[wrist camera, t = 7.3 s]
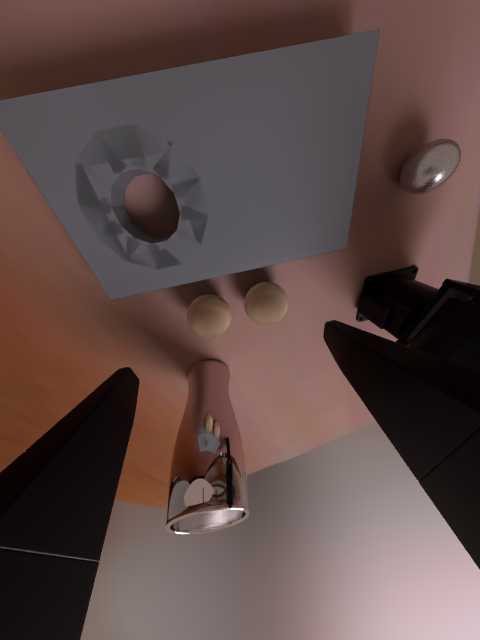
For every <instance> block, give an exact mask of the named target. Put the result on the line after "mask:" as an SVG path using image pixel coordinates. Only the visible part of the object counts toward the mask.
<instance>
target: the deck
mask: <svg viewBox="0 0 480 640" xmlns="http://www.w3.org/2000/svg"><path fill="white" fill-rule="evenodd" d="M379 30H380V29H378V30H373V31H368V32H362V33H357V34H352V35H346V36H341V37H336V38H330V39H325V40H320V41H314V42H309V43H304V44H298V45H293V46H288V47H282V48H277V49H271V50H266V51H261V52H255V53H250V54H245V55H239V56H234V57H229V58H223V59H218V60H213V61H207V62H202V63H197V64H191V65H186V66H181V67H175V68H170V69H165V70H159V71H154V72H148V73H143V74H138V75H132V76H127V77H122V78H116V79H111V80H106V81H100V82H95V83H90V84H84V85H79V86H74V87H68V88H63V89H58V90H52V91H47V92H41V93H36V94H31V95H25V96H20V97H15V98H9V99H4V100H0V128H1V130H2V131H3V133H4V134H5V136H6V138H7V139H8V141H9V142H10V144H11V145H12V147H13V148H14V150H15V152H16V153H17V155H18V156H19V158H20V159H21V161H22V163H23V164H24V166H25V167H26V169H27V170H28V172H29V173H30V175H31V177H32V178H33V180H34V181H35V183H36V184H37V186H38V188H39V189H40V191H41V192H42V194H43V195H44V197H45V198H46V200H47V202H48V203H49V205H50V206H51V208H52V209H53V211H54V213H55V214H56V216H57V217H58V219H59V220H60V222H61V223H62V225H63V227H64V228H65V230H66V231H67V233H68V234H69V236H70V238H71V239H72V241H73V242H74V244H75V245H76V247H77V249H78V250H79V252H80V253H81V255H82V256H83V258H84V259H85V261H86V263H87V264H88V266H89V267H90V269H91V270H92V272H93V274H94V275H95V277H96V278H97V280H98V281H99V283H100V284H101V286H102V288H103V289H104V291H105V292H106V294H107V295H108V297H109V299H110V300H113V299H118V298H123V297H127V296H132V295H136V294H141V293H146V292H150V291H155V290H159V289H164V288H169V287H173V286H178V285H182V284H187V283H192V282H196V281H201V280H206V279H210V278H215V277H219V276H224V275H229V274H233V273H238V272H242V271H247V270H252V269H256V268H261V267H266V266H270V265H275V264H279V263H284V262H289V261H293V260H298V259H302V258H307V257H312V256H316V255H321V254H325V253H330V252H335V251H339V250H344V249H347V243H348V236H349V230H350V223H351V216H352V210H353V203H354V196H355V190H356V183H357V176H358V170H359V163H360V156H361V150H362V143H363V136H364V130H365V123H366V116H367V110H368V103H369V96H370V90H371V83H372V76H373V70H374V63H375V56H376V50H377V43H378V36H379ZM148 173H151V174H154V175H156V176H158V177H160V178H161V179H162V180H163V181H164V182H165V183H166V184H167V186H168V187H169V188H170V189H171V190H172V191H173V193H174V195H175V198H176V201H177V204H178V208H179V211H180V216H179V222H178V228H177V230H176V231H175V233H174V234H173V235H172V236H168V237H164V238H156V237H153V236H150V235H147V234H144V233H143V232H142V231H141V230H140V229H139V228H138V227H137V226H136V225H135V224H133V223H132V221H131V219H130V217H129V214H128V212H127V210H126V208H125V188H126V187H127V186H128V184H129V183H130V182H131V180H132V179H133V178H134V177H135V176H138V175H143V174H148Z"/></svg>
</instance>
